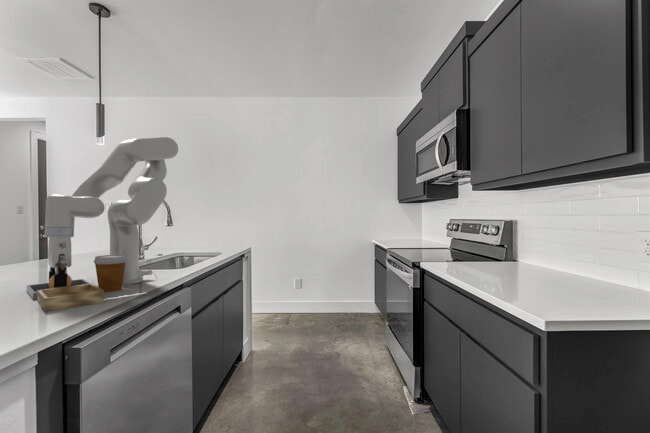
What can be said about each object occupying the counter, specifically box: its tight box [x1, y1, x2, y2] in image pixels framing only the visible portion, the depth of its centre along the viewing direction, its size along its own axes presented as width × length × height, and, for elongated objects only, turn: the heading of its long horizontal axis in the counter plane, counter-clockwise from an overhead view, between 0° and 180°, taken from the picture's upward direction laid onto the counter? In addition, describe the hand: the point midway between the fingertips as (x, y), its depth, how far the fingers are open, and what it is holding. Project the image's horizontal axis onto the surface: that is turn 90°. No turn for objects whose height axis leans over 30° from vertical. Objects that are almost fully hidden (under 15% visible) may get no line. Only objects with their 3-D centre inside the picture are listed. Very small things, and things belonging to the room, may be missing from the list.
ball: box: [48, 273, 73, 289], centre depth 108 cm, size 6×6×6 cm
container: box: [26, 278, 92, 301], centre depth 108 cm, size 15×15×2 cm
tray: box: [36, 283, 105, 312], centre depth 97 cm, size 14×14×4 cm
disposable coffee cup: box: [93, 254, 127, 293], centre depth 111 cm, size 10×10×12 cm
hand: (57, 284), depth 107 cm, fingers open, 9 cm apart
